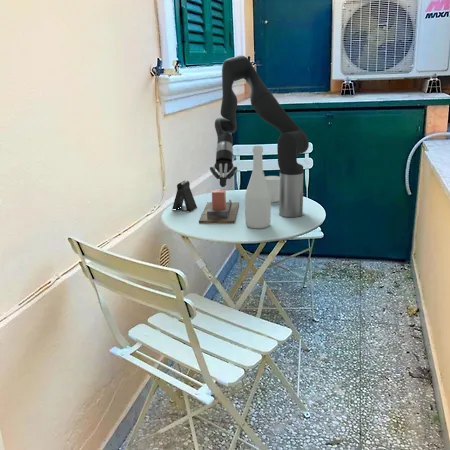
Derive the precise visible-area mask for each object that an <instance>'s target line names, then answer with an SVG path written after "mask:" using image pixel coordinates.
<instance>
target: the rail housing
mask: <svg viewBox="0 0 450 450" xmlns="http://www.w3.org/2000/svg"><path fill="white" fill-rule="evenodd" d="M239 203H240V202H238V201H235V202H233V200H232V199H228V201H226V210H213V209H212V201H211V202H209V201H208V202H206V203H205V206H204V208H203V211H202V213H201V215H200V216H199V219H198V224H235V223H236V219H237V215H238V210H239V205H240V204H239Z"/></svg>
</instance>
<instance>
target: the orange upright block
mask: <svg viewBox="0 0 450 450" xmlns="http://www.w3.org/2000/svg"><path fill="white" fill-rule="evenodd" d="M226 195H227V194H226V189H225V188H218V189H217V188H215V189H212V190H211V202H212V209H213V210H226V202H227V197H226Z"/></svg>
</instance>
